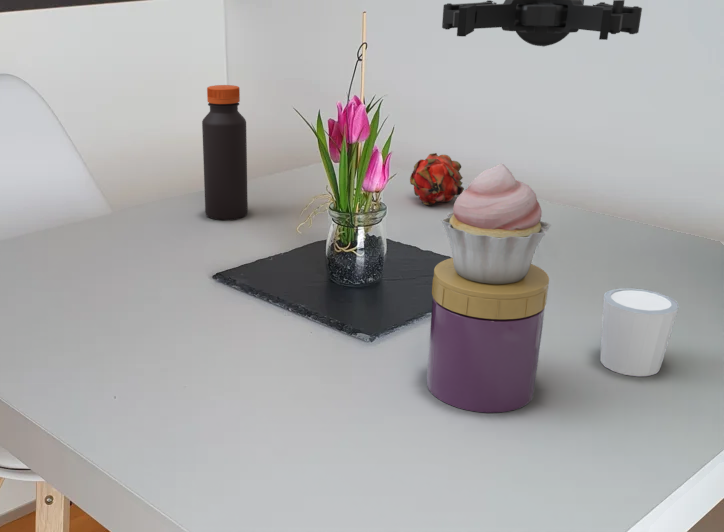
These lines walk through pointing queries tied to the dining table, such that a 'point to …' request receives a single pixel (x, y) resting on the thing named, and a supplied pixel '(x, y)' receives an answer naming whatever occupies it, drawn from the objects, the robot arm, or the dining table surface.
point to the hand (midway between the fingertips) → (531, 23)
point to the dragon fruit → (436, 179)
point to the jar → (483, 360)
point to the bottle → (225, 155)
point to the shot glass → (636, 330)
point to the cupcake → (495, 228)
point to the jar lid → (490, 294)
